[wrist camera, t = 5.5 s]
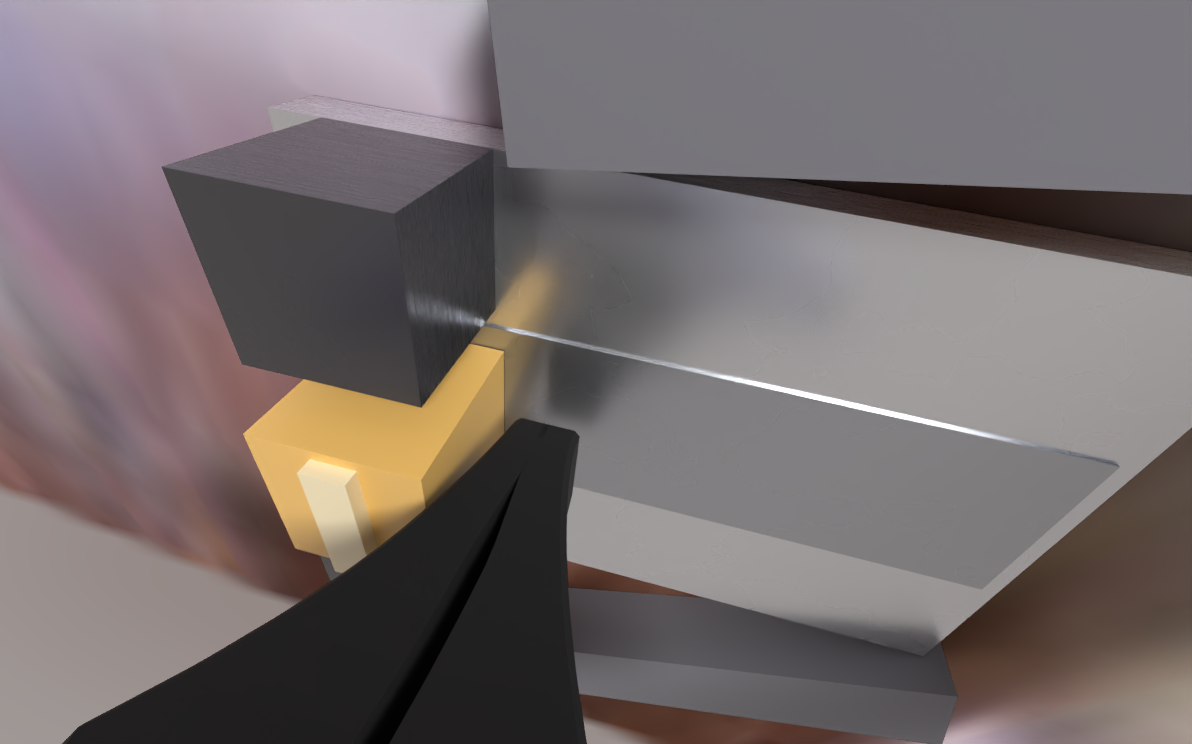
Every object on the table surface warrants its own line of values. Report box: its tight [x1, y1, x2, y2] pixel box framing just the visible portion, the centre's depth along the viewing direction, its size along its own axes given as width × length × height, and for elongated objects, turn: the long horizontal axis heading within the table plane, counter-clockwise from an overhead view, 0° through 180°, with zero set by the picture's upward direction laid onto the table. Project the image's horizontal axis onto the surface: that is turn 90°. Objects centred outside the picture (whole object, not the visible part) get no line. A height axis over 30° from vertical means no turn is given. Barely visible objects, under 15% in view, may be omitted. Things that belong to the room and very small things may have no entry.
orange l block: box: [243, 344, 504, 573], centre depth 10 cm, size 3×3×4 cm
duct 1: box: [487, 0, 1192, 194], centre depth 6 cm, size 13×3×3 cm, turn 91°
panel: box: [162, 96, 1192, 656], centre depth 10 cm, size 16×11×4 cm
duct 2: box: [568, 588, 958, 744], centre depth 17 cm, size 13×3×2 cm, turn 104°
